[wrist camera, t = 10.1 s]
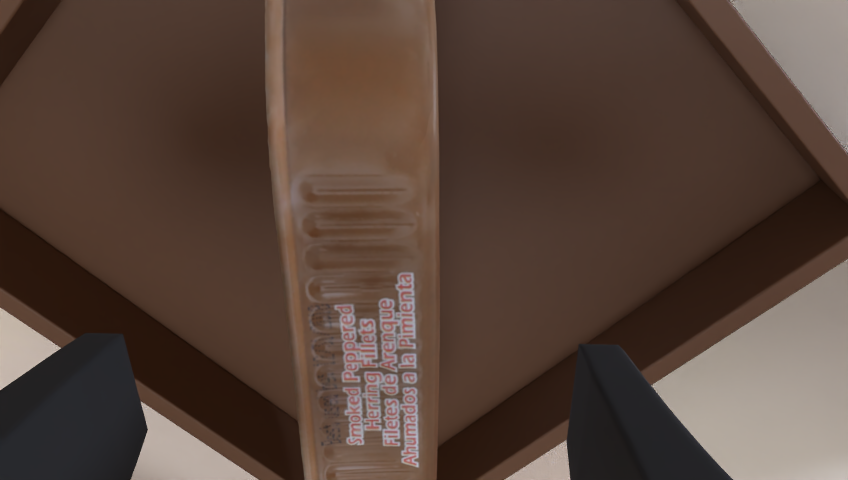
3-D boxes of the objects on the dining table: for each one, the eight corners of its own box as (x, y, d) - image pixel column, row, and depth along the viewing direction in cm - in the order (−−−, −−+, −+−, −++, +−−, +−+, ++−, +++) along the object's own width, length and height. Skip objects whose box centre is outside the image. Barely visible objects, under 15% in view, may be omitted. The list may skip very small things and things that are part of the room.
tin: (308, -126, 16) (188, -89, 9) (449, -125, 16) (446, -88, 9) (344, 390, 24) (294, 642, 16) (440, 392, 24) (434, 647, 16)
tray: (844, 172, 20) (903, 224, 17) (387, 489, 27) (379, 561, 24) (350, -453, 14) (327, -518, 11) (-76, 159, 21) (-152, 207, 18)
